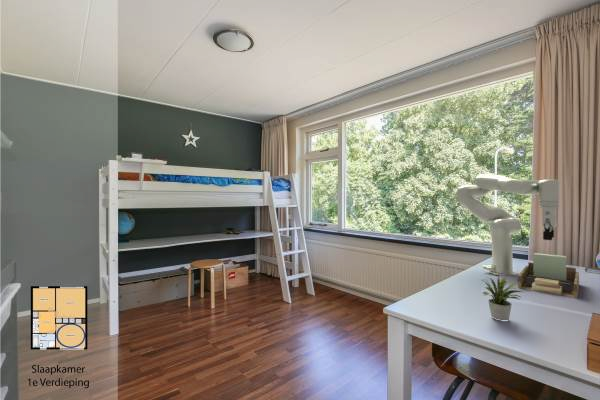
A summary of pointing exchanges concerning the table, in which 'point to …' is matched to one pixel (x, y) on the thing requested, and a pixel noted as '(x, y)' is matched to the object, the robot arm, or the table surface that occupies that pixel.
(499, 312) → the house plant
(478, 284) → the table surface
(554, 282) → the offcut upper
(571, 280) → the rack
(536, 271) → the green panel
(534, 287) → the offcut lower
